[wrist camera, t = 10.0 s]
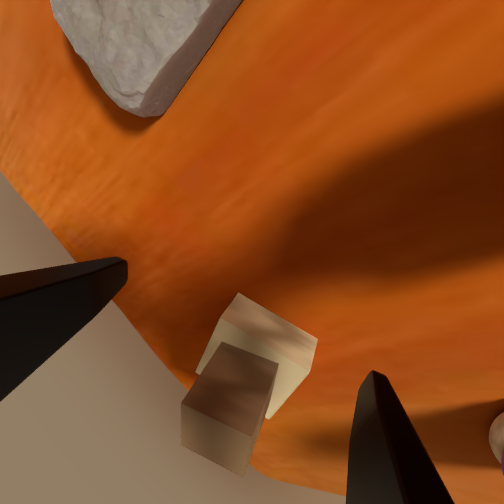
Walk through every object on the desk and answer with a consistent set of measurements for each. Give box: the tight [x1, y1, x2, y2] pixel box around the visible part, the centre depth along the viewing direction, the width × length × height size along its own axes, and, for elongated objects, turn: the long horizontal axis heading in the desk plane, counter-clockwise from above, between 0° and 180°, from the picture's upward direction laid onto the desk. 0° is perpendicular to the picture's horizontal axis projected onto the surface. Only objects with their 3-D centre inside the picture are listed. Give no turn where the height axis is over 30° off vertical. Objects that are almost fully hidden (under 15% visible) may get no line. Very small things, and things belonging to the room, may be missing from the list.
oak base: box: [195, 293, 318, 419], centre depth 26 cm, size 8×8×4 cm
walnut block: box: [181, 342, 279, 477], centre depth 22 cm, size 5×5×6 cm
